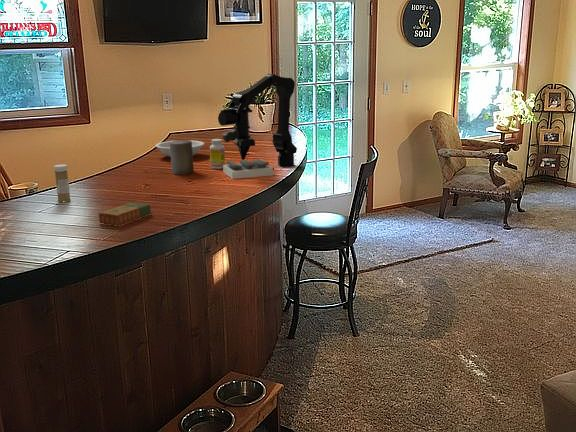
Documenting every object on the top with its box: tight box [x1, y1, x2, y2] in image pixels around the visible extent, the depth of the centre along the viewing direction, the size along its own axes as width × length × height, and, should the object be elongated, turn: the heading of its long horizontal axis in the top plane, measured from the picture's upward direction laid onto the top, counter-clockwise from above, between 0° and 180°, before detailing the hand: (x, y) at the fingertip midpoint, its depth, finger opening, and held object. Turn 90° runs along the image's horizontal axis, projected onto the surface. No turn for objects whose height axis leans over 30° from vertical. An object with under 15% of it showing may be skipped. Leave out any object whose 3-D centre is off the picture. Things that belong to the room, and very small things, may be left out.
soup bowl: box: [155, 139, 205, 158], centre depth 317 cm, size 24×24×7 cm
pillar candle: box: [170, 139, 195, 176], centre depth 279 cm, size 10×10×15 cm
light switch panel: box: [222, 163, 275, 180], centre depth 277 cm, size 21×16×3 cm
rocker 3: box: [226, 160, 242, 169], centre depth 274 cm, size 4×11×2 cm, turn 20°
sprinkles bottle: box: [53, 164, 71, 203], centre depth 233 cm, size 5×5×13 cm
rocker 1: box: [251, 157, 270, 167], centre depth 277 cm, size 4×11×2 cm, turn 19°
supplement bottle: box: [209, 138, 226, 170], centre depth 288 cm, size 7×7×13 cm
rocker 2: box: [239, 159, 256, 168], centre depth 275 cm, size 4×11×2 cm, turn 19°
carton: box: [98, 201, 152, 226], centre depth 209 cm, size 8×16×4 cm, turn 153°
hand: (243, 159), depth 274 cm, fingers closed
